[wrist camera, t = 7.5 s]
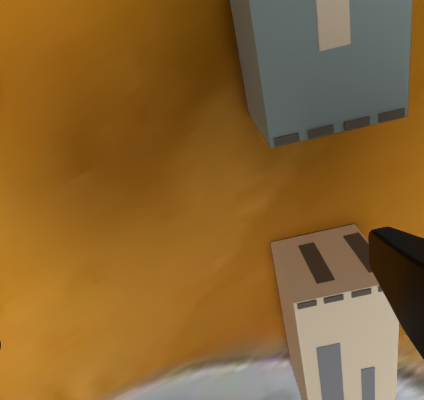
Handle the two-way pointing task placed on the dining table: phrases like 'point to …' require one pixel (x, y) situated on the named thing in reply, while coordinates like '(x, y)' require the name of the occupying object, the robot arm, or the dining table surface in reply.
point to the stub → (322, 64)
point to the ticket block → (336, 317)
